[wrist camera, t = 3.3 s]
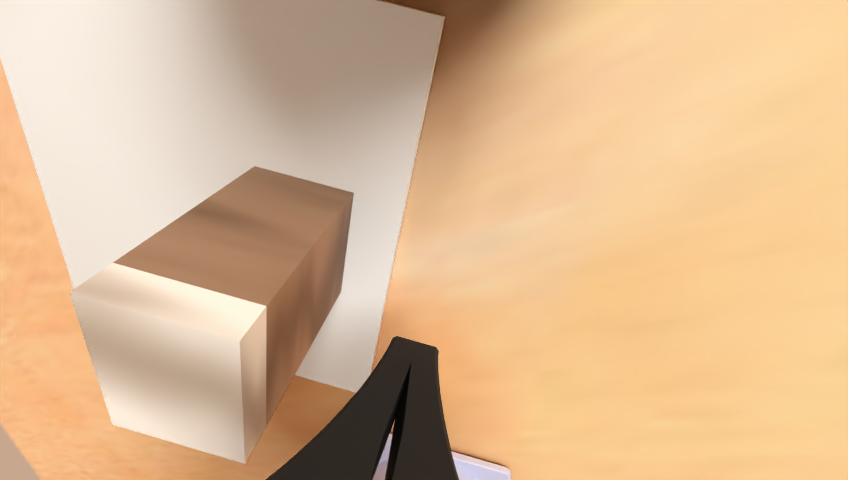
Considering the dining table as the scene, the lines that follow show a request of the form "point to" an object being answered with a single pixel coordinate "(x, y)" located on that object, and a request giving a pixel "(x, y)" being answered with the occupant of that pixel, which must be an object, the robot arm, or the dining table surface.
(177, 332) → the walnut block
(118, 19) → the mat
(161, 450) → the dining table surface
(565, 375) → the dining table surface
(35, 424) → the dining table surface
